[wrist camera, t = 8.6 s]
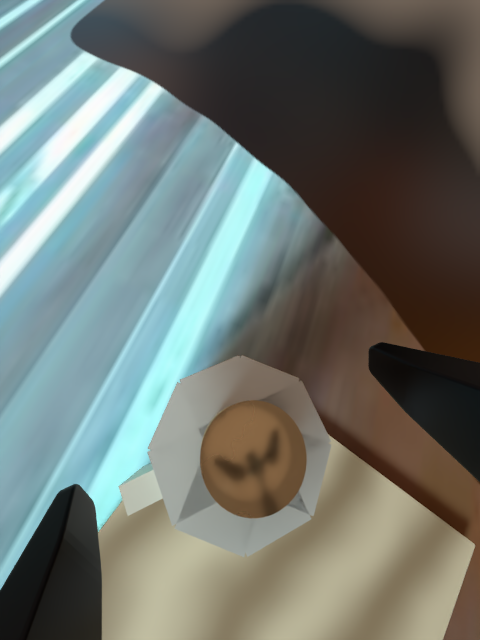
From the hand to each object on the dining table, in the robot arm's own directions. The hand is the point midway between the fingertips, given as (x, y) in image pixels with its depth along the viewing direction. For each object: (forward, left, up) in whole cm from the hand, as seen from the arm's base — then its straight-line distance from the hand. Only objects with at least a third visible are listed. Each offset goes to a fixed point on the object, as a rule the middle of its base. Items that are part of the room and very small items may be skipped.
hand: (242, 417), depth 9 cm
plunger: (-1, +1, -10) cm, 11 cm away
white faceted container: (-1, +1, -12) cm, 12 cm away
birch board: (-8, +6, -13) cm, 16 cm away
